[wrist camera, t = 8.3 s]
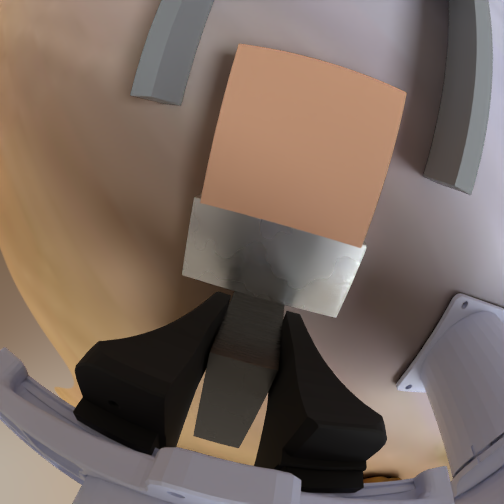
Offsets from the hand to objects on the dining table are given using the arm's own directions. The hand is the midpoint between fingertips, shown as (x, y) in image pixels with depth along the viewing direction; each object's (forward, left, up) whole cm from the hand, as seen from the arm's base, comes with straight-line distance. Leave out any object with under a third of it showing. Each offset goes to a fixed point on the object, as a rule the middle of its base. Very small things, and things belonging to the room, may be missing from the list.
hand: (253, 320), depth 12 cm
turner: (0, +1, -2) cm, 3 cm away
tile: (0, -8, -3) cm, 8 cm away
